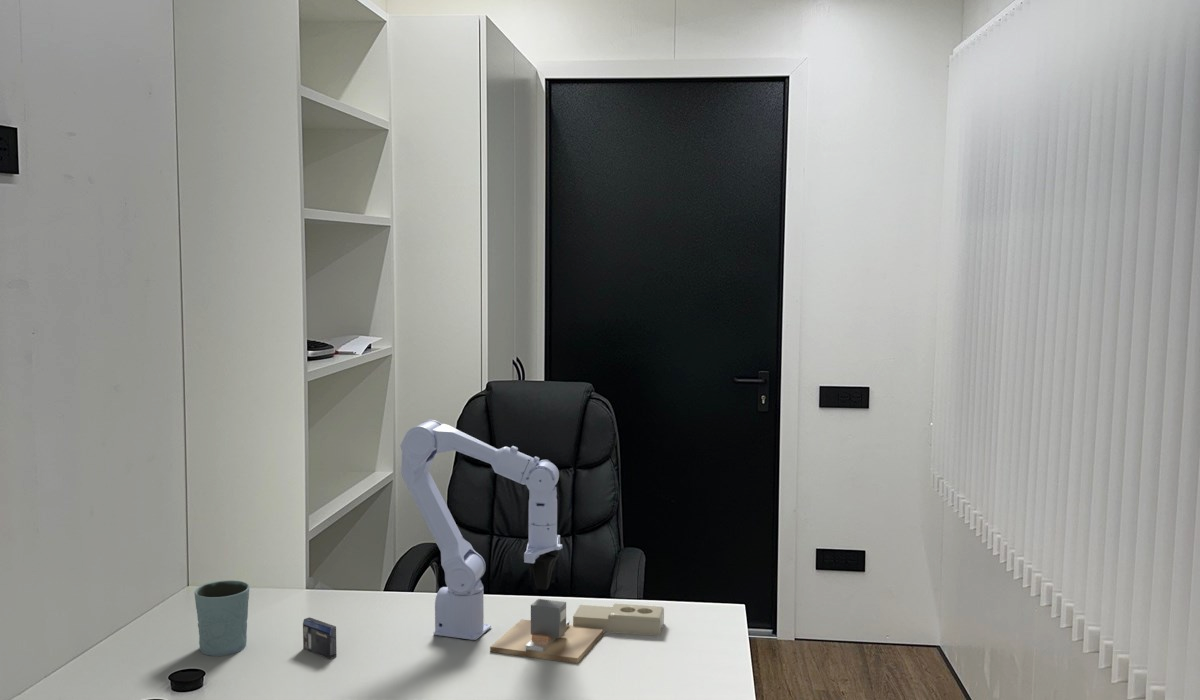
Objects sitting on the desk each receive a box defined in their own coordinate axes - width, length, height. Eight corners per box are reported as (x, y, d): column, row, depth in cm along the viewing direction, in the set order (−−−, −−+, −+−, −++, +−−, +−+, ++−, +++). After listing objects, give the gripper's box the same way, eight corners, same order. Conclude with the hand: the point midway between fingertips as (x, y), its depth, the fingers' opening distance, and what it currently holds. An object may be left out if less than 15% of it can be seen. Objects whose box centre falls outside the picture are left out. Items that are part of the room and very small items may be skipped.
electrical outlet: (580, 600, 217) (664, 606, 214) (580, 619, 218) (664, 625, 215) (573, 612, 210) (660, 618, 207) (573, 631, 211) (659, 637, 208)
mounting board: (490, 651, 199) (490, 646, 198) (521, 623, 214) (521, 619, 214) (577, 663, 193) (577, 658, 193) (603, 634, 208) (603, 629, 208)
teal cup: (230, 634, 207) (229, 576, 206) (262, 645, 201) (260, 586, 200) (185, 650, 199) (183, 590, 197) (216, 662, 193) (214, 600, 192)
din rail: (525, 650, 197) (525, 640, 197) (553, 624, 211) (553, 614, 211) (542, 652, 196) (542, 642, 195) (569, 626, 210) (569, 616, 210)
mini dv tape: (303, 649, 200) (302, 619, 199) (309, 646, 201) (309, 617, 200) (330, 659, 195) (329, 628, 194) (336, 656, 196) (336, 626, 195)
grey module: (530, 634, 202) (530, 605, 202) (538, 627, 206) (538, 598, 205) (559, 638, 200) (559, 608, 200) (566, 631, 204) (566, 602, 204)
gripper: (547, 533, 197) (547, 601, 198) (574, 515, 211) (573, 580, 212) (514, 529, 199) (514, 597, 200) (542, 512, 213) (542, 576, 214)
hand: (542, 588), depth 206 cm, fingers closed
